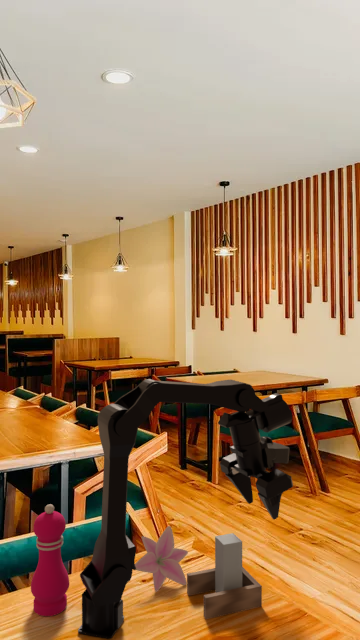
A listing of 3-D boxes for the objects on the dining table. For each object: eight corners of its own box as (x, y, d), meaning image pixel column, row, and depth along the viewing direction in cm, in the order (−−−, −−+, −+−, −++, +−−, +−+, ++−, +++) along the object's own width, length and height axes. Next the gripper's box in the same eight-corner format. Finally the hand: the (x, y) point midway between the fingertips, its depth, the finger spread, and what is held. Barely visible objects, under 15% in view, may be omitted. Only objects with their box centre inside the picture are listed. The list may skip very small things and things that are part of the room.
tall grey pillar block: (223, 606, 102) (223, 544, 101) (215, 595, 105) (215, 536, 105) (242, 601, 103) (242, 541, 103) (233, 591, 107) (233, 533, 106)
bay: (205, 619, 97) (205, 598, 97) (187, 593, 106) (187, 573, 106) (261, 606, 101) (261, 586, 101) (239, 582, 110) (239, 563, 110)
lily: (123, 595, 107) (137, 563, 104) (130, 548, 118) (143, 518, 114) (179, 609, 109) (194, 579, 105) (181, 562, 119) (195, 532, 115)
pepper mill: (74, 597, 104) (73, 498, 104) (62, 619, 97) (61, 512, 97) (39, 595, 105) (38, 497, 105) (24, 617, 98) (23, 511, 97)
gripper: (306, 436, 102) (322, 510, 104) (254, 418, 119) (268, 481, 121) (259, 457, 97) (276, 534, 99) (212, 435, 114) (227, 501, 116)
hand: (262, 510), depth 109 cm, fingers open, 9 cm apart
